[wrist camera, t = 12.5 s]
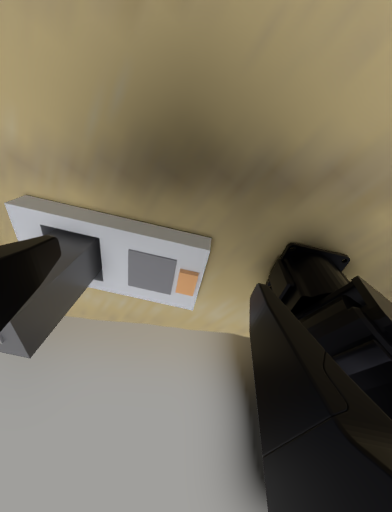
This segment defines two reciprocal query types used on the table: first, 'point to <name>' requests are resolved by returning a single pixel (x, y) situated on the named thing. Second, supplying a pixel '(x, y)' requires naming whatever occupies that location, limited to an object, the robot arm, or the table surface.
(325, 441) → the robot arm
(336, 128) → the table surface
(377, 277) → the table surface
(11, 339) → the block
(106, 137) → the table surface
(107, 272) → the power strip
